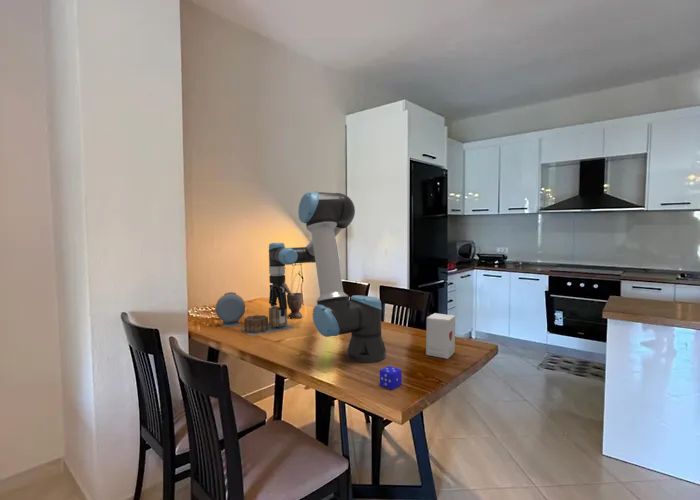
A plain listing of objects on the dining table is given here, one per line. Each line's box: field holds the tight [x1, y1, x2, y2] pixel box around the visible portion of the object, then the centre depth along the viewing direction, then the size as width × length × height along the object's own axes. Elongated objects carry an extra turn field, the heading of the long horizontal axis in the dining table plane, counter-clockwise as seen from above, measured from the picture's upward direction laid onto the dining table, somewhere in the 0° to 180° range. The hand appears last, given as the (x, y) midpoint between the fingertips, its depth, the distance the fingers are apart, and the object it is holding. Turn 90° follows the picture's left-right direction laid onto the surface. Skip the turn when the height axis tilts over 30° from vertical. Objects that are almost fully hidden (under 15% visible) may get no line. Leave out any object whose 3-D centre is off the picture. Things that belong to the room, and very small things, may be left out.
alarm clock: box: [215, 291, 246, 328], centre depth 189 cm, size 14×10×18 cm
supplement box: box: [425, 312, 456, 360], centre depth 147 cm, size 9×9×15 cm
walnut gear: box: [243, 314, 269, 334], centre depth 178 cm, size 10×10×6 cm
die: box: [379, 365, 403, 391], centre depth 119 cm, size 5×5×5 cm
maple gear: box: [268, 305, 288, 327], centre depth 184 cm, size 9×9×8 cm
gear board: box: [240, 323, 295, 337], centre depth 181 cm, size 14×22×6 cm, turn 124°
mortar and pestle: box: [282, 282, 304, 319], centre depth 208 cm, size 12×9×20 cm
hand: (278, 320), depth 184 cm, fingers closed on maple gear, 9 cm apart
